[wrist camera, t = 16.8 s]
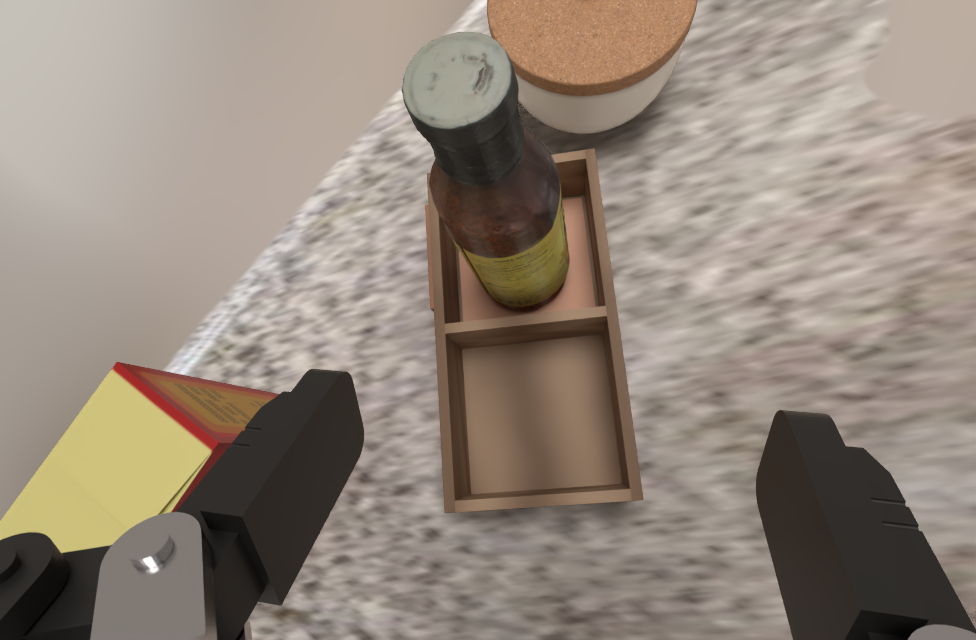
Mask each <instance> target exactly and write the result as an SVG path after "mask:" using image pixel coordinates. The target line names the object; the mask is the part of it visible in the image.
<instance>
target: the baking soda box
mask: <svg viewBox="0 0 976 640" xmlns="http://www.w3.org/2000/svg"><path fill="white" fill-rule="evenodd" d="M278 395H279V394H276V393H271V392H266V391H261V390H256V389H251V388H246V387H241V386H236V385H231V384H226V383H221V382H216V381H211V380H206V379H200V378H195V377H190V376H185V375H180V374H175V373H170V372H165V371H160V370H155V369H150V368H145V367H140V366H135V365H130V364H125V363H120V362H117V363H116V364H115V365H114V367H113V368H112V369H111V371H110V372H109V373H108V375H107V376H106V378H105V379H104V380H103V382H102V383H101V384H100V386H99V387H98V389H97V390H96V391H95V393H94V394H93V395H92V397H91V398H90V399H89V401H88V402H87V404H86V405H85V406H84V408H83V409H82V410H81V412H80V413H79V414H78V416H77V417H76V419H75V420H74V421H73V423H72V424H71V425H70V427H69V428H68V430H67V431H66V432H65V434H64V435H63V437H62V438H61V439H60V441H59V442H58V443H57V445H56V446H55V447H54V449H53V450H52V451H51V453H50V454H49V456H48V457H47V458H46V460H45V461H44V462H43V464H42V465H41V466H40V468H39V469H38V471H37V472H36V473H35V475H34V476H33V477H32V479H31V480H30V482H29V483H28V484H27V486H26V487H25V488H24V490H23V491H22V492H21V494H20V495H19V497H18V498H17V499H16V501H15V502H14V503H13V505H12V506H11V508H10V509H9V510H8V512H7V513H6V514H5V516H4V517H3V519H2V520H1V521H0V540H2V539H4V538H7V537H10V536H13V535H17V534H21V533H27V532H38V533H43V534H45V535H47V536H48V537H49V538H50V539H51V540H52V541H53V543H54V544H55V545H56V547H57V548H58V549H59V551H60V552H61V553H64V552H71V551H77V550H83V549H90V548H96V547H103V546H109V545H113V543H114V542H115V541H116V540H117V539H118V538H119V537H120V536H121V535H123V534H124V533H125V532H126V531H128V530H129V529H130V528H132V527H133V526H135V525H136V524H138V523H140V522H142V521H144V520H146V519H148V518H151V517H153V516H156V515H160V514H164V513H169V512H176V511H177V510H178V508H179V507H180V506H181V505H182V504H183V502H184V501H185V500H186V499H187V497H188V496H189V495H190V494H191V493H192V491H193V490H194V489H195V488H196V486H197V485H198V484H199V483H200V482H201V480H202V479H203V478H204V477H205V475H206V474H207V473H208V472H209V470H210V469H211V468H212V467H213V466H214V464H215V463H216V462H217V461H218V459H219V458H220V457H221V456H222V454H223V453H224V452H225V451H226V450H227V448H228V447H231V446H232V442H233V441H234V440H235V438H236V437H237V436H238V435H239V434H240V432H241V431H244V430H245V426H246V425H247V424H248V423H249V421H250V420H251V419H252V418H253V416H254V415H255V414H256V413H257V411H258V410H259V409H260V408H261V407H262V406H264V405H265V404H266V403H268V402H269V401H271V400H272V399H274V398H275V397H276V396H278Z"/></svg>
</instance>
